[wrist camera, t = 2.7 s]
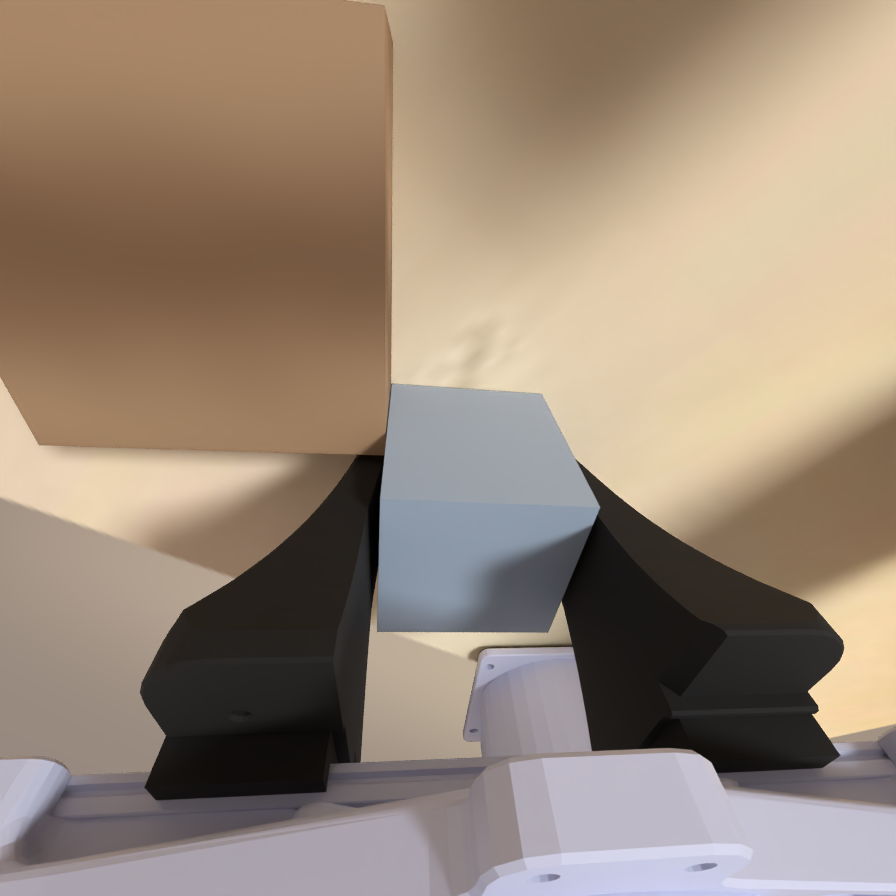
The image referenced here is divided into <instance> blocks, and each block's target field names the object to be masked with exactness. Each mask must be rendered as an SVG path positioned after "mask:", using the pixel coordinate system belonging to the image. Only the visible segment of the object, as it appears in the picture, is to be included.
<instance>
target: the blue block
mask: <svg viewBox="0 0 896 896" xmlns="http://www.w3.org/2000/svg"><path fill="white" fill-rule="evenodd" d="M599 509H600V506H599V504H598V502H597V500H596V498H595V496H594V494H593V492H592V490H591V488H590V487H589V485H588V483H587V481H586V479H585V477H584V475H583V473H582V471H581V469H580V467H579V465H578V463H577V461H576V459H575V457H574V456H573V454H572V452H571V450H570V448H569V446H568V444H567V442H566V440H565V438H564V436H563V434H562V432H561V430H560V428H559V426H558V424H557V423H556V421H555V419H554V417H553V415H552V413H551V411H550V409H549V407H548V405H547V403H546V401H545V399H544V397H543V395H542V394H534V393H519V392H505V391H491V390H476V389H462V388H447V387H433V386H418V385H404V384H392V389H391V399H390V408H389V418H388V428H387V437H386V447H385V457H384V466H383V476H382V486H381V495H380V528H379V572H378V616H377V632H547V633H548V631H549V629H550V627H551V624H552V622H553V619H554V617H555V615H556V612H557V610H558V607H559V605H560V603H561V600H562V598H563V595H564V593H565V591H566V588H567V586H568V583H569V581H570V579H571V576H572V574H573V571H574V569H575V567H576V564H577V562H578V559H579V557H580V555H581V552H582V550H583V547H584V545H585V543H586V540H587V538H588V535H589V533H590V531H591V528H592V526H593V523H594V521H595V519H596V516H597V514H598V511H599Z"/></svg>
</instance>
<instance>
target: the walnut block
mask: <svg viewBox="0 0 896 896" xmlns="http://www.w3.org/2000/svg"><path fill="white" fill-rule="evenodd" d="M392 112H393V41H392V37H391V32H390V28H389V23H388V19H387V15H386V10H385V6H384V5H376V4H368V3H361V2H353V1H345V0H0V377H1V379H2V381H3V382H4V384H5V386H6V388H7V389H8V391H9V393H10V395H11V396H12V398H13V400H14V402H15V404H16V405H17V407H18V409H19V411H20V412H21V414H22V416H23V418H24V419H25V421H26V423H27V425H28V426H29V428H30V430H31V432H32V433H33V435H34V437H35V439H36V441H37V442H38V444H39V445H52V446H86V447H119V448H153V449H186V450H220V451H253V452H287V453H320V454H353V455H385V447H386V437H387V428H388V418H389V408H390V399H391V305H392Z"/></svg>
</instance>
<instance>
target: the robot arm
mask: <svg viewBox="0 0 896 896" xmlns="http://www.w3.org/2000/svg"><path fill="white" fill-rule="evenodd" d="M384 457H385V455H357V456H356V458H355V460H354V461H353V463H352V464H351V466H350V467H349V469H348V470H347V472H346V473H345V475H344V476H343V477H342V479H341V480H340V482H339V483H338V484H337V486H336V487H335V488H334V490H333V491H332V492H331V493H330V495H329V496H328V497H327V498H326V499H325V500H324V502H323V503H322V504H321V505H320V506H319V507H318V509H317V510H316V511H315V512H314V513H313V514H312V515H311V516H310V517H309V518H308V519H307V520H306V521H305V522H304V523H303V524H302V525H301V526H300V527H299V528H298V529H297V530H296V531H295V532H294V533H293V534H292V535H291V536H290V537H288V538H287V539H286V540H285V541H284V542H283V543H282V544H280V545H279V546H278V547H277V548H276V549H275V550H273V551H272V552H271V553H270V554H269V555H267V556H266V557H265V558H263V559H262V560H261V561H259V562H258V563H257V564H255V565H254V566H252V567H251V568H250V569H248V570H247V571H246V572H244V573H243V574H241V575H240V576H239V577H237V578H236V579H234V580H233V581H231V582H230V583H228V584H226V585H225V586H223V587H222V588H220V589H218V590H217V591H215V592H213V593H212V594H210V595H208V596H206V597H205V598H203V599H201V600H200V601H198V602H196V603H195V604H193V605H191V606H189V607H188V608H186V609H184V610H183V611H182V613H181V614H180V616H179V618H178V619H177V621H176V622H175V624H174V625H173V627H172V628H171V629H170V631H169V633H168V634H167V636H166V638H165V639H164V641H163V643H162V645H161V646H160V648H159V650H158V652H157V654H156V656H155V658H154V660H153V662H152V664H151V666H150V668H149V670H148V672H147V674H146V676H145V678H144V679H143V682H142V685H141V690H140V694H141V696H142V699H143V701H144V704H145V706H146V707H147V709H148V710H149V711H150V713H151V714H152V716H153V717H154V719H155V720H156V722H157V723H158V724H159V726H160V727H161V729H162V730H163V732H164V733H165V735H166V738H165V740H164V742H163V745H162V747H161V749H160V752H159V755H158V756H157V759H156V761H155V763H154V766H153V768H152V770H151V772H129V773H106V774H82V775H71V773H70V771H69V770H68V768H67V767H66V766H65V765H64V764H63V763H62V762H60V761H58V760H56V759H53V758H49V757H44V756H16V757H0V896H896V726H895V727H893V728H891V729H889V730H888V731H886V732H885V733H883V734H882V735H881V736H880V737H879V738H878V741H856V742H833V743H832V742H831V741H830V740H829V738H828V737H827V735H826V734H825V732H824V731H823V730H822V728H821V727H820V725H819V724H818V722H817V721H816V720H815V718H814V717H813V715H812V714H815V713H817V712H818V711H819V710H818V705H817V704H816V703H815V701H814V700H813V698H812V697H811V696H810V694H809V693H808V690H809V689H811V688H812V687H813V686H814V685H815V684H816V683H817V682H818V681H820V680H821V679H822V678H823V677H824V676H825V675H826V674H827V673H828V672H830V671H831V670H832V669H833V668H834V667H835V665H836V664H837V663H838V662H839V661H840V659H841V657H842V654H843V651H844V644H843V640H842V639H841V638H840V636H839V635H838V634H837V633H836V632H835V631H834V629H833V628H832V627H831V626H830V625H829V624H828V623H827V621H826V620H825V619H824V618H823V617H822V616H821V614H820V613H819V612H818V611H817V610H816V609H815V607H814V606H813V605H812V604H811V603H809V602H807V601H804V600H802V599H799V598H797V597H795V596H792V595H790V594H787V593H785V592H783V591H780V590H778V589H775V588H773V587H771V586H768V585H766V584H763V583H761V582H759V581H757V580H754V579H752V578H750V577H748V576H746V575H744V574H742V573H740V572H738V571H736V570H733V569H731V568H729V567H727V566H725V565H723V564H722V563H720V562H718V561H716V560H714V559H712V558H710V557H708V556H706V555H705V554H703V553H701V552H699V551H698V550H696V549H694V548H692V547H690V546H689V545H687V544H685V543H684V542H682V541H680V540H679V539H677V538H675V537H674V536H672V535H671V534H669V533H668V532H666V531H665V530H663V529H662V528H660V527H659V526H657V525H656V524H654V523H653V522H651V521H650V520H648V519H647V518H646V517H644V516H643V515H641V514H640V513H639V512H637V511H636V510H635V509H634V508H632V507H631V506H630V505H628V504H627V503H626V502H624V501H623V500H622V499H621V498H620V497H618V496H617V495H616V494H615V493H614V492H612V491H611V490H610V489H609V488H608V487H606V486H605V485H604V484H603V483H602V482H601V481H600V480H598V479H597V478H596V477H595V476H594V475H593V474H592V473H591V472H589V471H588V470H587V469H586V468H585V467H584V466H583V465H582V464H580V463H579V462H578V461H577V460H576V461H577V463H578V465H579V467H580V469H581V471H582V473H583V475H584V477H585V479H586V481H587V483H588V485H589V487H590V488H591V490H592V492H593V494H594V496H595V498H596V500H597V502H598V504H599V506H600V509H599V511H598V514H597V516H596V519H595V521H594V523H593V526H592V528H591V531H590V533H589V535H588V538H587V540H586V543H585V545H584V547H583V550H582V552H581V555H580V557H579V559H578V562H577V564H576V567H575V569H574V571H573V574H572V576H571V579H570V581H569V583H568V586H567V588H566V591H565V593H564V595H563V598H562V600H561V601H562V604H563V607H564V611H565V615H566V619H567V624H568V628H569V632H570V637H571V641H572V646H573V647H539V648H490V649H485V650H483V651H482V652H480V654H479V658H478V663H477V668H476V673H475V677H474V682H473V687H472V691H471V697H470V701H469V706H468V711H467V715H466V720H465V725H464V730H463V738H464V740H466V741H470V742H472V741H481V750H482V757H481V758H457V759H435V760H411V761H387V762H365V763H364V762H363V763H360V761H361V746H362V730H363V715H364V700H365V685H366V671H367V658H368V644H369V631H370V619H371V608H372V601H373V594H374V589H375V583H376V577H377V572H378V566H379V528H380V495H381V486H382V476H383V466H384Z"/></svg>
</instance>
